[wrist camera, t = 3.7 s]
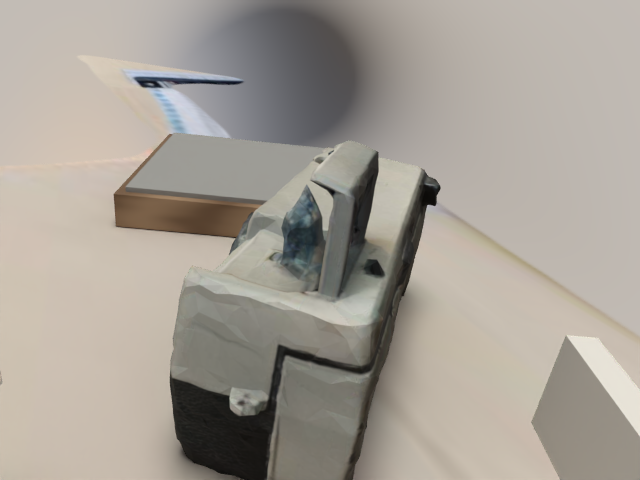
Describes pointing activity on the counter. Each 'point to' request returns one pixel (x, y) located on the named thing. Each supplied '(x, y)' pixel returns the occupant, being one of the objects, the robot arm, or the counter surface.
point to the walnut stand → (206, 183)
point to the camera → (298, 320)
